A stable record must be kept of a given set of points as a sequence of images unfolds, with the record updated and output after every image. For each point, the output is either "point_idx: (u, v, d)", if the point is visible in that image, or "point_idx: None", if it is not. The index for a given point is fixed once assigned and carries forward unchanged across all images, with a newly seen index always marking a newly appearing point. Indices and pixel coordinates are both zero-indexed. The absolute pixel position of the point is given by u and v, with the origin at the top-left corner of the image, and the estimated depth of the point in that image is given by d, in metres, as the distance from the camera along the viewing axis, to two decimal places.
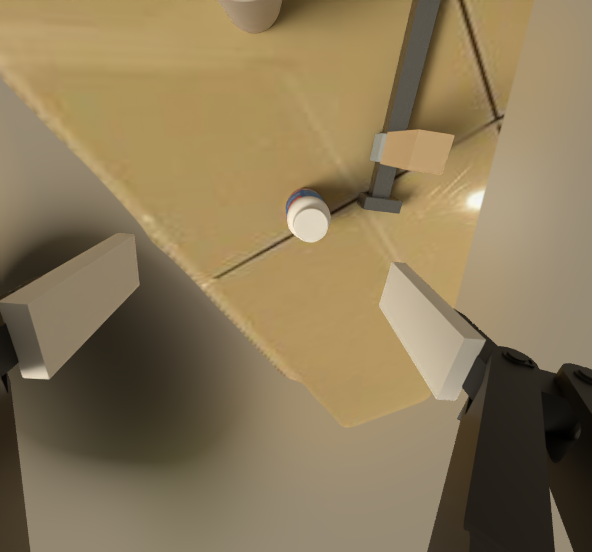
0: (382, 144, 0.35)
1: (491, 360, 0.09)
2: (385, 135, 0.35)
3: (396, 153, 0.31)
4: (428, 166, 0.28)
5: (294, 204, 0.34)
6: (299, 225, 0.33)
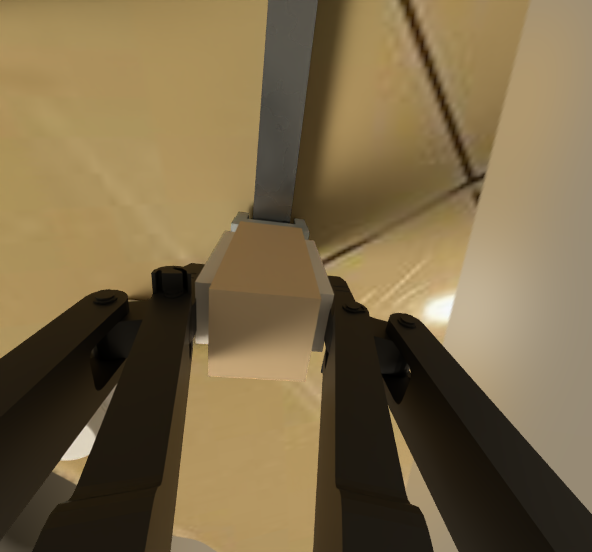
0: None
1: (335, 315, 0.10)
2: (237, 227, 0.17)
3: None
4: (264, 367, 0.11)
5: None
6: None
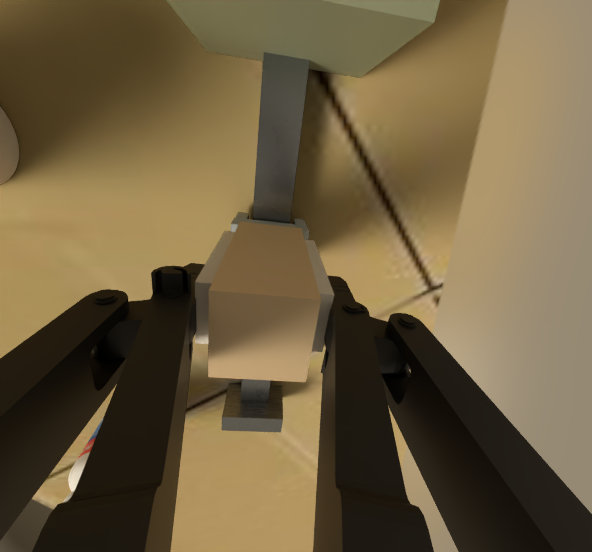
0: None
1: (335, 315, 0.10)
2: (236, 227, 0.17)
3: None
4: (264, 368, 0.11)
5: (74, 469, 0.20)
6: None
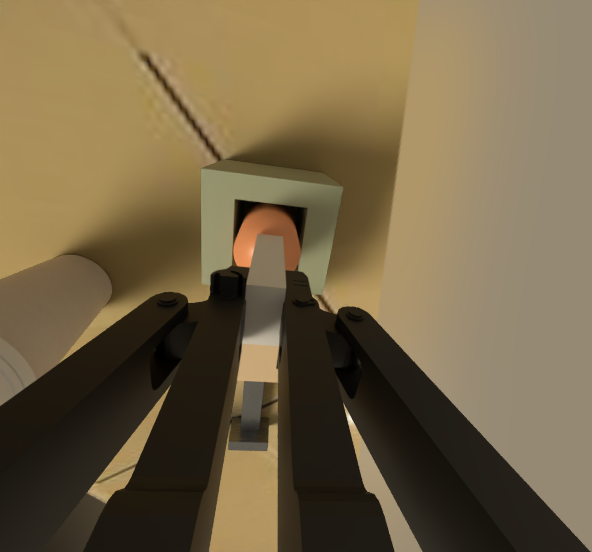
0: None
1: (286, 311, 0.10)
2: None
3: None
4: (258, 375, 0.21)
5: None
6: None
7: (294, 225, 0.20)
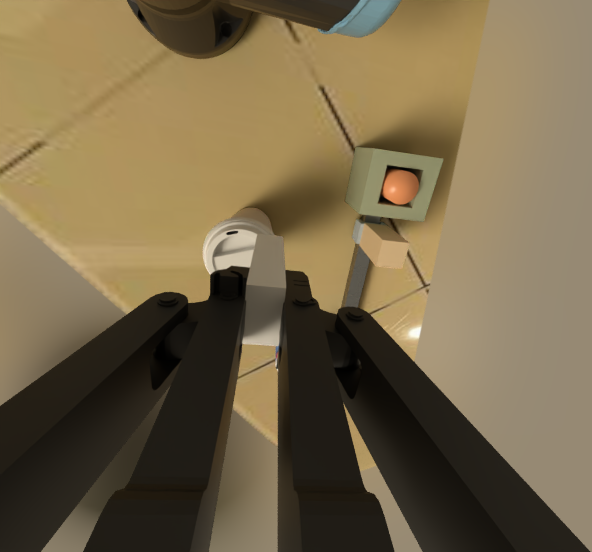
0: (360, 231, 0.45)
1: (286, 311, 0.10)
2: (362, 225, 0.44)
3: (369, 246, 0.41)
4: (391, 263, 0.38)
5: None
6: None
7: None
